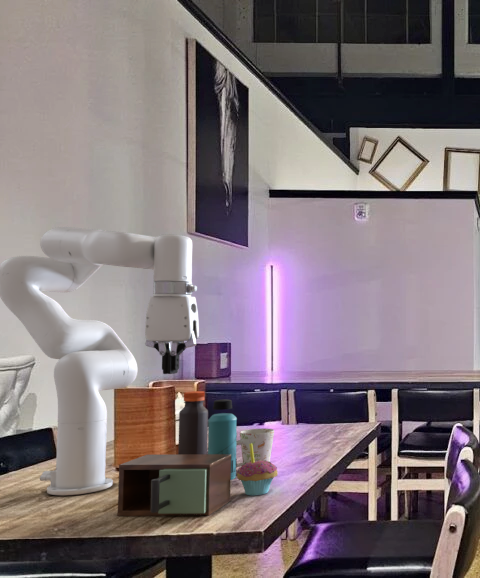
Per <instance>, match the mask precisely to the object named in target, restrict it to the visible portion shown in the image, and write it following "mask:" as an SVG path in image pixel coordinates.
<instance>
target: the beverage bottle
mask: <svg viewBox="0 0 480 578" xmlns="http://www.w3.org/2000/svg"><path fill="white" fill-rule="evenodd" d="M231 409H233V401H232V399H224V398H223V399H216V400H214V401H213V406H212V410H216V411H222V410H225V411H226V410H231ZM237 420H238V418H237V416H236V415H235V414H233V413H230V412H227V413H226V412H221V413H214V414H212V415H211V416H210V417H208V437H207V454H231V481H233V480H234V479H236V478H237V471H238V467H237V464H238V457H237V446H236V442H237V436H238V431H237Z"/></svg>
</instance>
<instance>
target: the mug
mask: <svg viewBox="0 0 480 578" xmlns="http://www.w3.org/2000/svg"><path fill="white" fill-rule="evenodd" d="M274 436H275V429H273V428H249V429H243V430H241V431H239V439H236V441H237V442H236V447H237V446H240V449H241V458H242V462H237V467H236V468H240V467H241V466H242V465H244V464H246V463H249V462H251V455H250V447H249V444H250V441H251V443H252V445H253V454H254V461H257V460H262V461H263V460H266V461H269V462H271V458H272V457H271V456H272V448H273V442H274ZM249 440H250V441H249Z"/></svg>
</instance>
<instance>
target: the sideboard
mask: <svg viewBox="0 0 480 578" xmlns="http://www.w3.org/2000/svg"><path fill="white" fill-rule="evenodd" d="M159 470H206V507H205V513H180V514H158V512H155V513H151V512H150V511H151V480H153V479H158V478H159ZM231 481H232V480H231V454H208V453H207V454H180V455H178V454H145V455H142V456H138V457H137V458H134V459H131V460H128V461H126V462H123V463H120V464H118V488H117V489H118V491H117V493H118V494H117V516H118V517H148V516H149V517H151V516H152V517H154V516H155V517H159V516H160V517H162V516H164V517H165V516H168V517H169V516H171V517H173V516H186V517H187V516H210V515H212V514H213V513H215V512H216V511H217V510H219V509H221V508H222V507H224V506H225V505H227V504H228V503H230V502H231V483H232V482H231Z"/></svg>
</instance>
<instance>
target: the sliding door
mask: <svg viewBox="0 0 480 578" xmlns="http://www.w3.org/2000/svg"><path fill="white" fill-rule="evenodd" d="M205 507H206V470H159V478H158V479H153V480H151V511H150V512H151V513H155V512H158V514H180V513H205Z"/></svg>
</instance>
